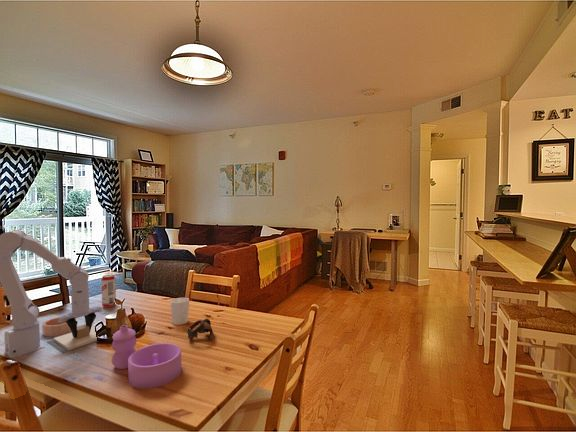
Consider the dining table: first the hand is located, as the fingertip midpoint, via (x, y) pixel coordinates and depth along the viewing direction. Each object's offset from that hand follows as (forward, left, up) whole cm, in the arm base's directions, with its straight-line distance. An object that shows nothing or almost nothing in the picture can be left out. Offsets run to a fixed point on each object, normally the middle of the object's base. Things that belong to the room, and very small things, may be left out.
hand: (81, 334), depth 120 cm
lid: (0, 0, -2) cm, 2 cm away
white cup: (+33, -17, -2) cm, 37 cm away
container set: (+2, -42, -2) cm, 42 cm away
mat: (0, 0, -2) cm, 2 cm away
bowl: (-2, +16, -2) cm, 16 cm away
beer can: (+25, +32, -2) cm, 41 cm away
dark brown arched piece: (+28, -38, -2) cm, 47 cm away
